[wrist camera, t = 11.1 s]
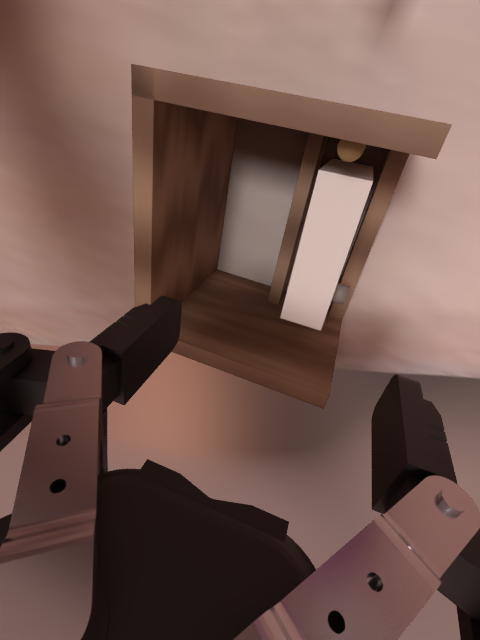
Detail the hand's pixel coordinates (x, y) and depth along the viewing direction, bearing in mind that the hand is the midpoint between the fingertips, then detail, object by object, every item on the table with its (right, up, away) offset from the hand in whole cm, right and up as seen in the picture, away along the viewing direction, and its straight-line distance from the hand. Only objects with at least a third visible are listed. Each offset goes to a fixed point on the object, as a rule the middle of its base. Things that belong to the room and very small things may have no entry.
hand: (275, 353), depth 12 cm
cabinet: (+3, +10, +16) cm, 19 cm away
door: (+6, +9, +15) cm, 19 cm away
